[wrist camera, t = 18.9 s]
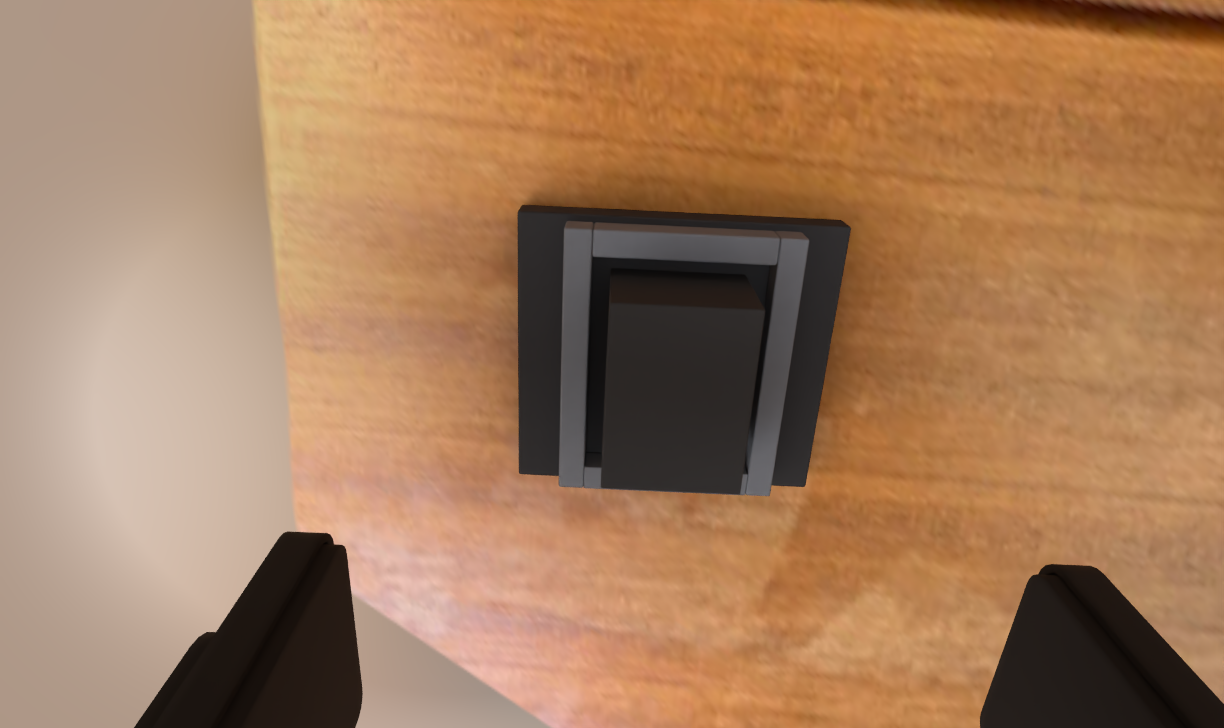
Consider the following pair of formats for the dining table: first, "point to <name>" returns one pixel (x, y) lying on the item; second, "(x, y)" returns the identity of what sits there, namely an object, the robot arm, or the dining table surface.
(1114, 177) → the dining table surface
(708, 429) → the black block
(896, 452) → the dining table surface
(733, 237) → the base pad
